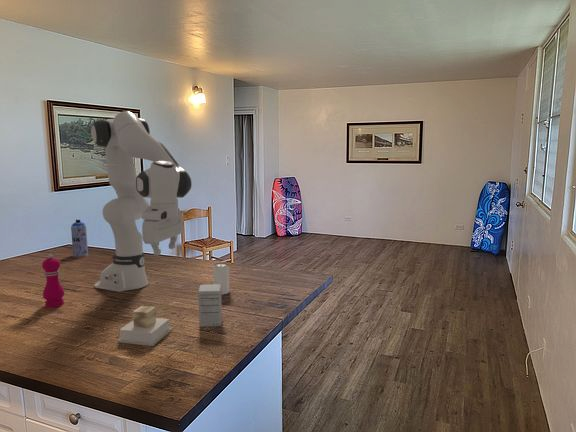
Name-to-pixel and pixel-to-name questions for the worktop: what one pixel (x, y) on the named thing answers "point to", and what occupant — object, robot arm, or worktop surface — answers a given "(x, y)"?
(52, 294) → the pepper mill
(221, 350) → the worktop surface
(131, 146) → the robot arm
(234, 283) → the worktop surface
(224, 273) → the can
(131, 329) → the pedestal
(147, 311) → the maple block
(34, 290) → the worktop surface
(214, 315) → the supplement box
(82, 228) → the aerosol can
